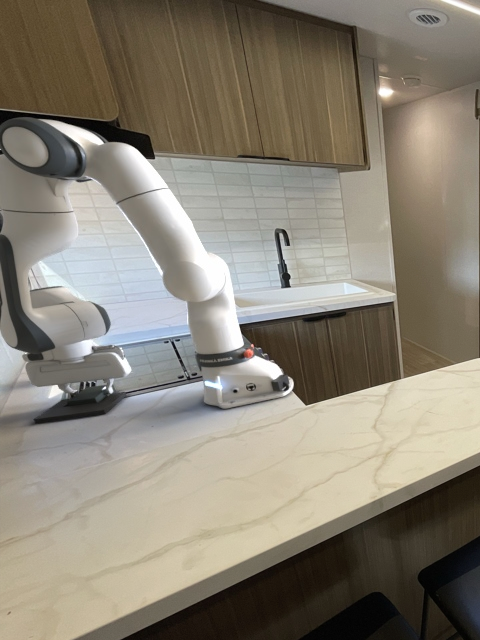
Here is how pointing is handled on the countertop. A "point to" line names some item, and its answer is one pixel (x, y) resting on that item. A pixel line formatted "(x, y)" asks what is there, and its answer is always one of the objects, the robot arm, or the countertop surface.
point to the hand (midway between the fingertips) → (92, 395)
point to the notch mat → (79, 409)
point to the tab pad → (89, 396)
